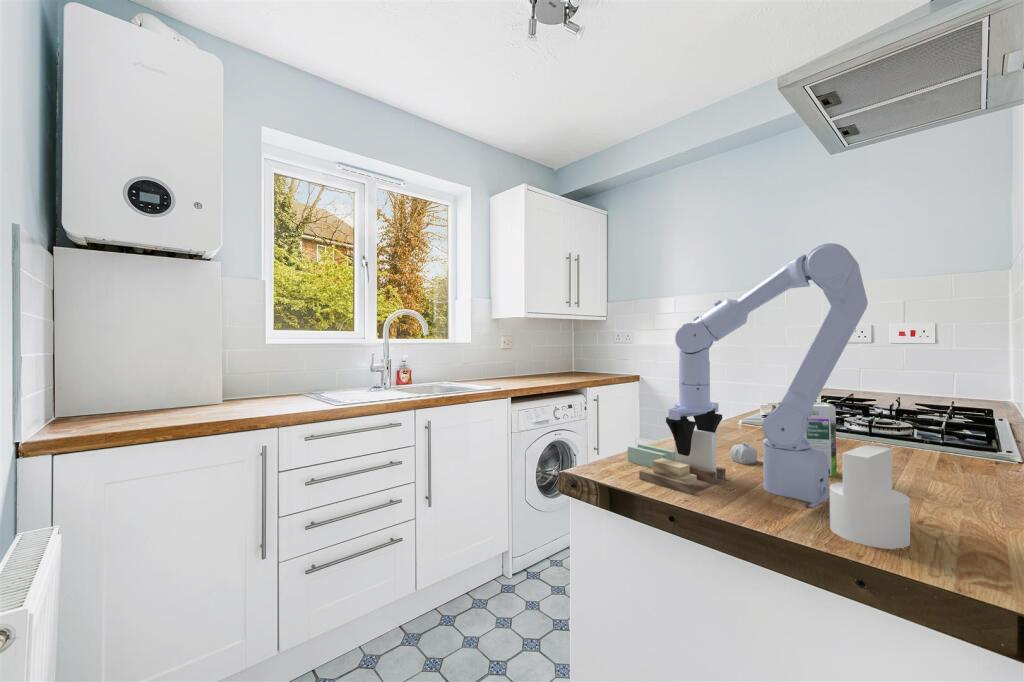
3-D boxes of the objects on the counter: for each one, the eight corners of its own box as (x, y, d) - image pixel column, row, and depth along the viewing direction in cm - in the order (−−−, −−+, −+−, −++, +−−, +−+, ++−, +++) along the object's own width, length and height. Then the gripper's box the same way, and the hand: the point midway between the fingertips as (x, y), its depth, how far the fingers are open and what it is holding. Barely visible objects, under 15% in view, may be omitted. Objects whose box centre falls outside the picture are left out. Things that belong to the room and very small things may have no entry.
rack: (731, 482, 87) (731, 468, 87) (690, 498, 79) (690, 482, 79) (680, 469, 96) (680, 456, 96) (639, 482, 88) (639, 468, 88)
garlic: (760, 469, 95) (760, 445, 95) (732, 467, 97) (732, 443, 97) (754, 462, 101) (754, 439, 101) (728, 460, 103) (728, 437, 102)
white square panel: (716, 479, 87) (716, 432, 86) (712, 480, 86) (711, 434, 86) (679, 469, 93) (679, 426, 93) (675, 470, 92) (674, 427, 92)
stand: (676, 469, 96) (675, 451, 96) (661, 474, 93) (661, 454, 93) (641, 460, 103) (641, 443, 103) (627, 464, 100) (627, 446, 100)
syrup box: (804, 476, 90) (804, 404, 90) (793, 468, 96) (793, 400, 96) (837, 478, 89) (836, 405, 88) (824, 469, 94) (823, 401, 94)
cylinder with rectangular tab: (845, 516, 70) (844, 440, 70) (920, 538, 62) (919, 452, 62) (818, 530, 65) (817, 448, 65) (896, 555, 58) (895, 463, 58)
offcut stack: (696, 484, 83) (696, 465, 83) (685, 488, 81) (685, 469, 81) (663, 475, 89) (663, 457, 89) (652, 479, 87) (652, 460, 87)
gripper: (696, 380, 97) (696, 442, 97) (655, 384, 88) (655, 453, 88) (728, 382, 91) (728, 448, 91) (687, 387, 82) (687, 461, 83)
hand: (694, 451), depth 89 cm, fingers open, 7 cm apart
